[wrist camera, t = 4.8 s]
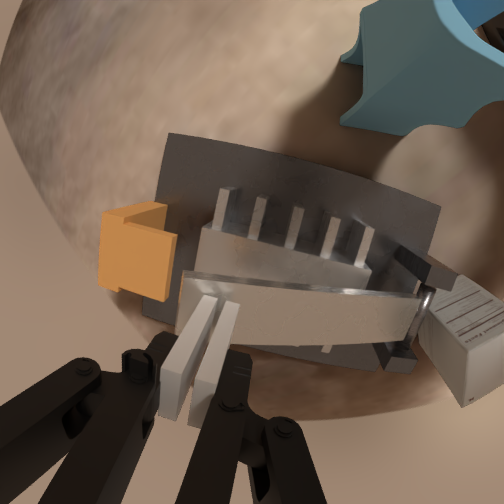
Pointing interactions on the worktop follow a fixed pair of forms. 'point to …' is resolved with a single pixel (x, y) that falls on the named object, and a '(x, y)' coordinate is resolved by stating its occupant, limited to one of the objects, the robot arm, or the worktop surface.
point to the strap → (306, 311)
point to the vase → (424, 64)
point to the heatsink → (294, 234)
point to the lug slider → (137, 250)
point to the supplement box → (465, 339)
